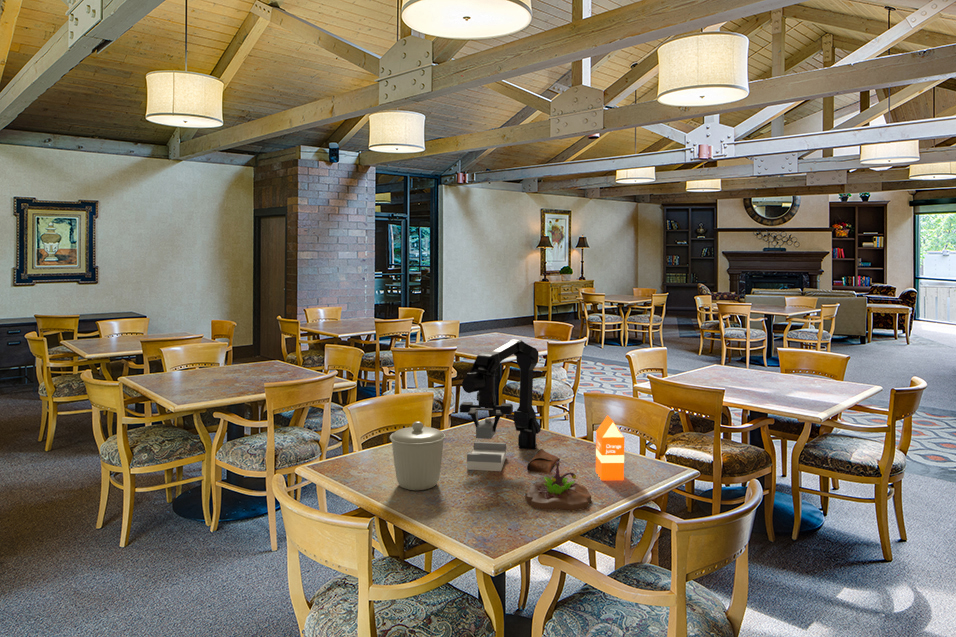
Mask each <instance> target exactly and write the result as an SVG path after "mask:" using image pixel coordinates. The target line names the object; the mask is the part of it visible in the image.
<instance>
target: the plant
mask: <svg viewBox="0 0 956 637" xmlns="http://www.w3.org/2000/svg"><path fill="white" fill-rule="evenodd" d="M554 466H555V467H556V468H555V473H554V475H553V476H551V478H549V477H547V476H544V477H543V479H544V481H538V482H537V481H535V483H533V484H531V485H530V486H529V490H528V491H527V492H525V494H524V497H525V499H526V500H525V502H526V503H527V504H530V506H531V508H534V509H537V510H544V511H545V510H547V511H548V510H549V511H550V509H551V510H555V509H560V511H569V510H571V511H570V512H573V511H572V510H574V511H580V510H579V509H581V510H584V509H588V508H589V504H591V503H592V495H591V494H590V492H589V490H588V489H587V487H586V486H585V485H584V484H583V485H582V484H579V483H576V481H575V479H577V474H575V473H574V472H566V473H564V474H562V475H561V474H560V469H559V467H560V466H561V464H560V462H559V461H557V462H556V463H555V465H554ZM568 475H569V476H571V478H572V479H574V480H571V481H569V482H567V481H568V479H569V478H568V477H567V476H568ZM590 502H591V503H590ZM588 503H589V504H588ZM587 507H588V508H587ZM583 508H584V509H583Z"/></svg>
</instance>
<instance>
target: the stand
mask: <svg viewBox="0 0 956 637" xmlns="http://www.w3.org/2000/svg"><path fill="white" fill-rule="evenodd" d="M506 459H507V442H494V441H493V442H491V441H490V442H489V441H473V450H472V452H467V453H466V470H468V471H469V470H470V471H485V472H487V471H488V472H502V469H503V467H504V464H505V461H506Z"/></svg>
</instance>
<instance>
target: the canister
mask: <svg viewBox="0 0 956 637" xmlns="http://www.w3.org/2000/svg"><path fill="white" fill-rule="evenodd" d="M446 437H447V435H446V434H445V432H443V431H442V430H440V429H437V428H436V427H435V428H434V427H430V426H424V424H423V422H421V421H417V420H416V421H414V422H413V423H412V425H411V426H408V427H403V428H400V429H397V430H396V431H394V432H392V433H391V434H390V435H389V440H390V441H391V447H392V456H393V464H394V468H395V470H394V472H395V476H396V477H395V478H396V481H397V483H398V485H399V486H400V487H401V488H403V489H405V490H409V491H423V490H424V491H425V490H429V489H432V488H433V487H435V486H436V485H437V484H438V482H439V480H440V476H441V468H442V462H443V461H442V460H443V450H444V440H445V439H446Z"/></svg>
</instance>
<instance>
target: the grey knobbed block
mask: <svg viewBox="0 0 956 637" xmlns="http://www.w3.org/2000/svg"><path fill="white" fill-rule="evenodd" d="M496 433H497V429H496V430H495V432H494V420H492V417H485V418H484V420H480V422H479V424H478V425H477V426H475V439H487V440H492V438H493V437H494V436H495V434H496Z"/></svg>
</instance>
